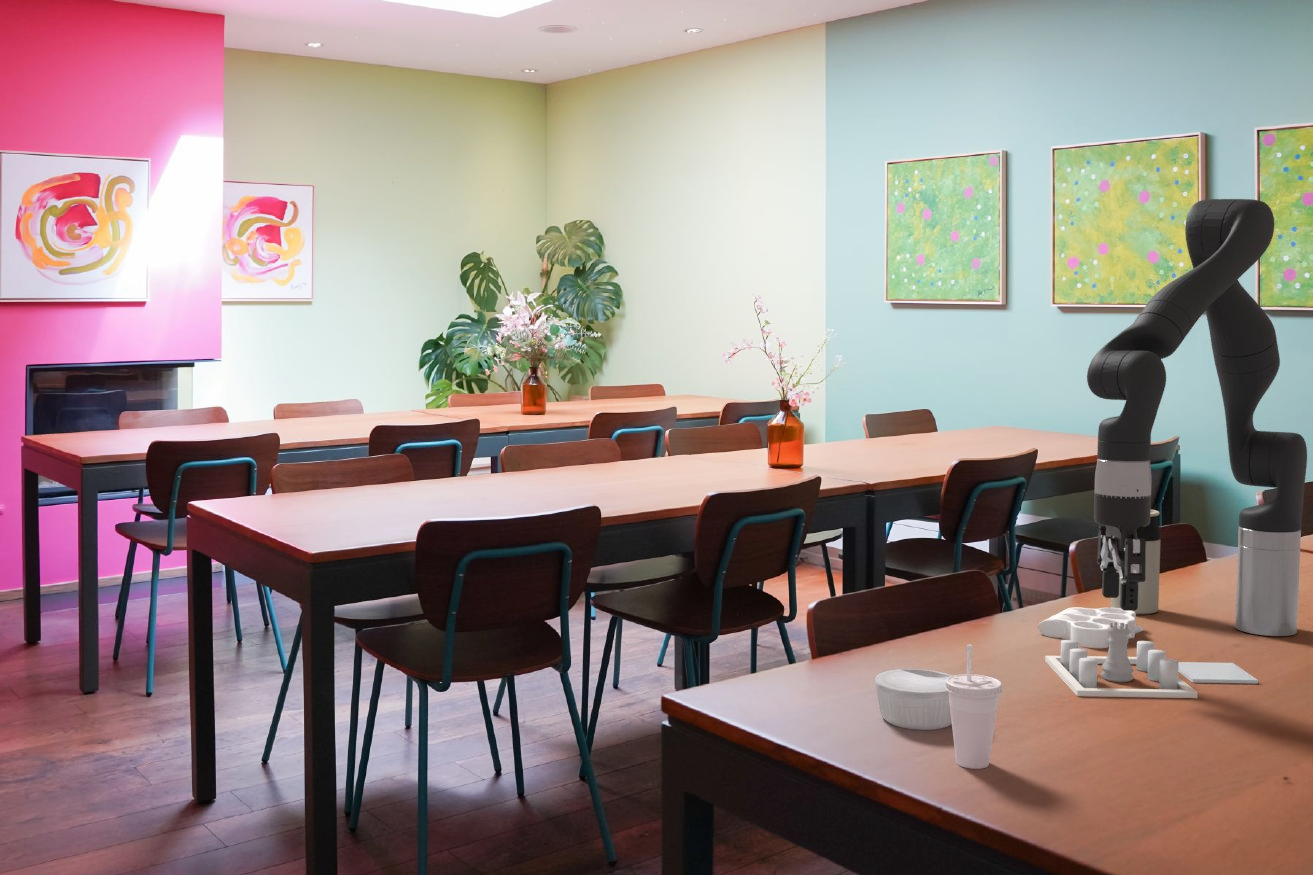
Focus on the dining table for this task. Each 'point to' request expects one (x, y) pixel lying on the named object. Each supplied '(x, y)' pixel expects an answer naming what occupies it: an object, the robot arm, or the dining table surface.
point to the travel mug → (1147, 569)
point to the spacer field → (1145, 661)
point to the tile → (1214, 673)
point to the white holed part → (1088, 625)
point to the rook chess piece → (1117, 655)
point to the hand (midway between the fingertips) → (1119, 603)
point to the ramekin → (914, 698)
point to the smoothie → (973, 715)
